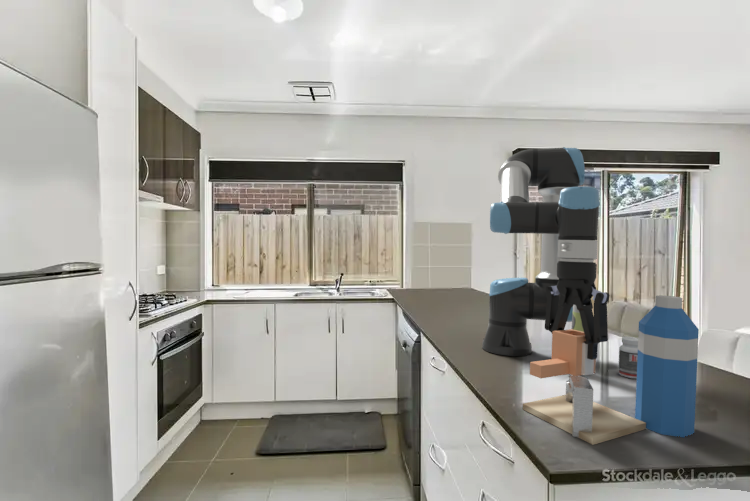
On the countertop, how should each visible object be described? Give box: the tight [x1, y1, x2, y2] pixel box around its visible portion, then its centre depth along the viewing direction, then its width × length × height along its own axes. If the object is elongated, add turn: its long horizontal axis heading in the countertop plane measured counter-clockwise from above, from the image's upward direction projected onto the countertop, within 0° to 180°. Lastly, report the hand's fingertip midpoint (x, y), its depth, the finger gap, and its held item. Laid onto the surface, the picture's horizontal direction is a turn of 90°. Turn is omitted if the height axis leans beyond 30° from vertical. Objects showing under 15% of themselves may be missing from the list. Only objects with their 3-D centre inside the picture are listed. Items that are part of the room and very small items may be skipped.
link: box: [529, 328, 597, 379], centre depth 85 cm, size 14×6×8 cm, turn 116°
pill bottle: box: [617, 336, 638, 380], centre depth 108 cm, size 6×6×10 cm
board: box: [522, 394, 647, 446], centre depth 81 cm, size 16×15×1 cm
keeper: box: [569, 374, 594, 438], centre depth 76 cm, size 7×3×9 cm, turn 161°
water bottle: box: [634, 294, 700, 438], centre depth 78 cm, size 9×9×25 cm
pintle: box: [565, 375, 573, 403], centre depth 87 cm, size 2×2×5 cm
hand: (572, 369), depth 86 cm, fingers closed on link, 6 cm apart
